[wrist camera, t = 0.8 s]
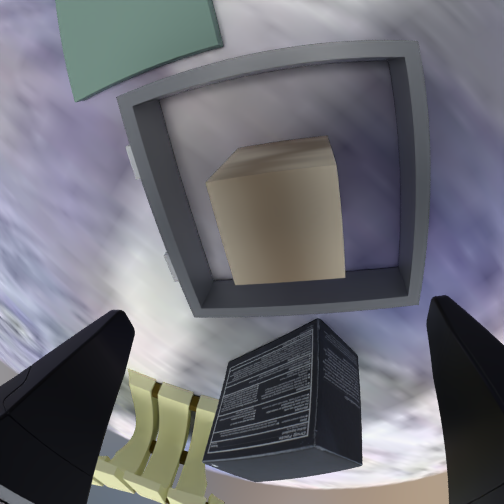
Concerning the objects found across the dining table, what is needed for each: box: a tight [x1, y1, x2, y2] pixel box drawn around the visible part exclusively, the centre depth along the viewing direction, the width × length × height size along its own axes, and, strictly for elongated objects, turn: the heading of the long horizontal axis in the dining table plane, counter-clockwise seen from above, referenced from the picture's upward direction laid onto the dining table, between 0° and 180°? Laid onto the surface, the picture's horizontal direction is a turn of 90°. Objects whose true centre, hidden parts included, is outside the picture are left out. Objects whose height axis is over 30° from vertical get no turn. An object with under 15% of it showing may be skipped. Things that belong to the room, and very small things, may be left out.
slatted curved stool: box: [92, 369, 225, 504], centre depth 29 cm, size 30×16×18 cm, turn 78°
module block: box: [206, 136, 345, 285], centre depth 15 cm, size 5×5×6 cm
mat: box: [55, 0, 223, 102], centre depth 12 cm, size 10×10×1 cm
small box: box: [202, 319, 362, 482], centre depth 21 cm, size 11×6×10 cm, turn 135°
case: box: [116, 40, 430, 317], centre depth 16 cm, size 15×15×3 cm
